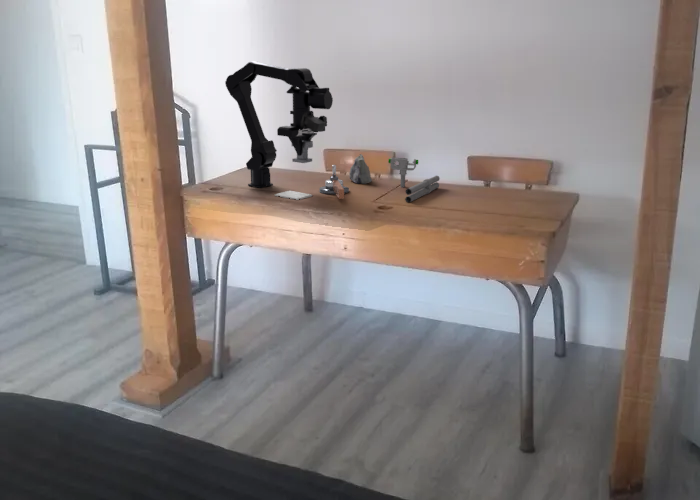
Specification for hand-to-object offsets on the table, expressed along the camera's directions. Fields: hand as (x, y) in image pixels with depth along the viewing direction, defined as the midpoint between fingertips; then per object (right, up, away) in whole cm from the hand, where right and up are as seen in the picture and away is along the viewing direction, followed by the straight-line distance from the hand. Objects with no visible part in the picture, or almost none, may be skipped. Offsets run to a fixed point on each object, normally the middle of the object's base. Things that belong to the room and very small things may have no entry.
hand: (302, 154), depth 236 cm
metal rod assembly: (+41, -14, -1) cm, 43 cm away
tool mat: (-3, -14, -4) cm, 15 cm away
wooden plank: (+12, -13, -4) cm, 18 cm away
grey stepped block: (0, -2, +1) cm, 2 cm away
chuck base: (+11, -12, +3) cm, 16 cm away
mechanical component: (+35, -10, +11) cm, 38 cm away
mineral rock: (+20, -7, +21) cm, 30 cm away
